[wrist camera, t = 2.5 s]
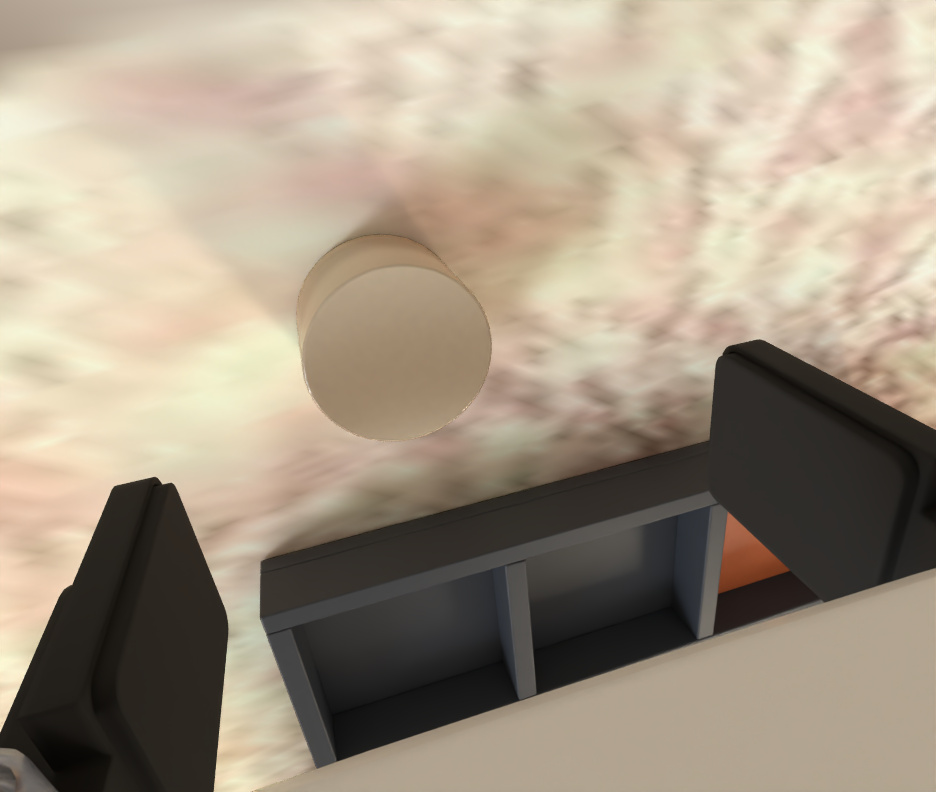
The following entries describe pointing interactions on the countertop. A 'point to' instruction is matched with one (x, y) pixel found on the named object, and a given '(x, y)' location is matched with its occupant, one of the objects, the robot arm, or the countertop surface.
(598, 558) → the grid
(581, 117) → the countertop surface
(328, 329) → the cylinder
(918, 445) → the robot arm
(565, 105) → the countertop surface
